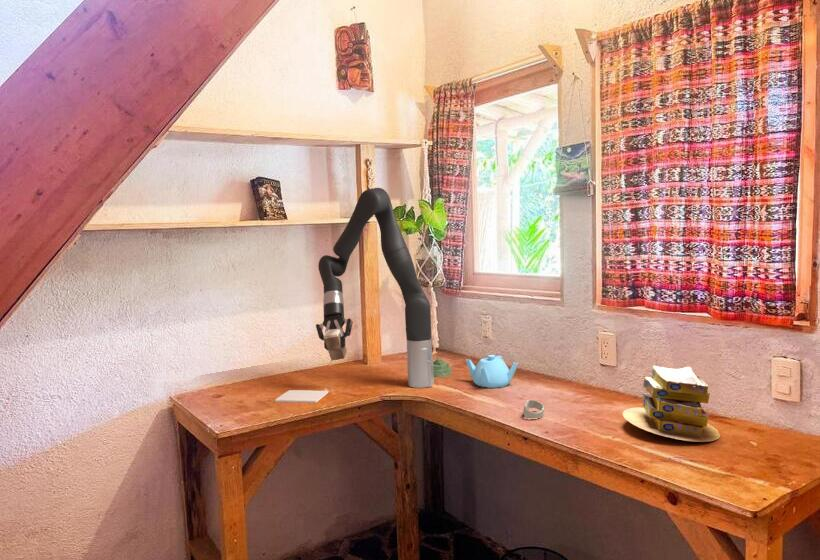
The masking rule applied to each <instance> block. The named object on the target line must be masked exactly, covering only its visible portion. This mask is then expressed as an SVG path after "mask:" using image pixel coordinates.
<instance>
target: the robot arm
mask: <svg viewBox="0 0 820 560" xmlns="http://www.w3.org/2000/svg"><path fill="white" fill-rule="evenodd" d="M355 204H356V205H355V207H354V209H353V212H352V214H351V216H350V218H349V221H348V223H347V224H346V226H345V228H344V229H343V231H342V233H341V234H340V235H339V237H338V239H337V241H336V243H334V246H333V248H332V250H333V252H334V254H335V255H336V256H337V257H335V256H331V255H328V254H325V255H322V256H321V257H320V259H319V260H318V264H317V265H318V271H319V275H320V278H321V281H322V284H323V299H322V300H323V302H322V303H323V304H322V305H323V306H322V307H323V321H322V323H316V324H315V328H316V332H317V336H318V338H319V339H320V340H321V341H324V342H323V344H324V346H323V347H324V349H325V350H326V351H328V349H327V345H326V342H325V339H324V335H325V333H326V331H329V330H331V329H339V330H340V335H341V337H340V345H341V348H344V346H346V338H347V337H350V336H351V332H352V328H353V323H354V322H353V320H352V319H351V318H345V301H344V295H343V294H344V291H343V282H342V280H341V279H340V278H339V277H341V276H343V275H344V274H345V273H346V270H347V267H348V264H349V262H350V261H349V260H350V257H351V255H352V253H353V252H354V250H355V249H356V247H357V246H358V244H359V243H360V239H361V237H362V234H363V230H364V228H365V227H366V224H368V222H369V221H370V219H372V217H373V216H374V217H375V220H376V221H377V224H378V227H379V231H380V232H379V233H380V247H381V251H382V255H383V259H385V263H386V265H387V267H388V269H389V271H390V274H391V275H392V276H393V278H394V279H395V281H396V283H397V284H398V287H399V289H400V291H401V294H402V297H403V300H404V304H405V306H404V317H405V318H404V319H405V321H404V322H405V334H406V335H405V336H406V360H407V385H408V387H410V388H417V389H418V388H419V389H423V388H431V387H432V386H433V385H434V383H435V377H434V367H433V361H434V358H433V350H432V349H433V347H432V345H433V344H432V318H431V315H432V312H431V310H432V309H431V307H432V306H431V302H430V300H429V299H428V297H427V295H426V293H425V292H424V290H423V287H422V286H421V284H420V282H419V279H418V276H417V272H416V268H415V265H414V262H413V259H412V255H411V253H410V251H409V250H410V249H409V248H408V245H407V244H406V242H405V239H404V236H403V233H402V231H401V229H400V226H399V223H398V221H397V218H396V215H395V211H394V209H393V203H392V201H391V198H390V195H389V194H388V192H387V190H385V189H384V188H381V187H373V188H372V187H371V188H369V189H366V190H364V191H363V192H361V194H360V196H359V198H358V199H357V202H356V203H355ZM344 325H345V331H344V329H343V327H344ZM324 327H325V330H324ZM323 330H324V331H323Z"/></svg>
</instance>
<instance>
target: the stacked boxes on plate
mask: <svg viewBox="0 0 820 560" xmlns="http://www.w3.org/2000/svg"><path fill="white" fill-rule="evenodd" d="M651 373H652V376H644V377H643V383H642V387H643V388H645V391H646V392H647V393H649V394H650V395H651V396H649V395H646V394H644V393H642V397H643V401H642V407H630V408H627V409H625V410H624V411H623V412H622V416H623V418H624V419H625V420H626V421H628V422H629V423H630V424H632V425H633V426H635V427H637V428H639V429H642V430H644V431H646V432H649V433H652V434H654V435H658V436H662V437H666V438H671V439H675V440H681V441H684V442H685V441H686V442H700V443H705V442H706V443H707V442H714V441H716V440H718V439H720V437H721V435H720V432H719V431H718V429H717V428H715V427H714V426H712V425H711V424H709V423H708V421H709V414H707V412H706V411H705V410H704V409H703V407H702V404H709V399H710V394H711V393H710V392H709V391H708V389H709V384H707V382H706V381H704V380H703V379H702V378H700V376H697V374H696V373H694V371H693V368H692V366H686V367H682V368H674V367H664V366H657V365H653V366H652V371H651Z"/></svg>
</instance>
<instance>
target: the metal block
mask: <svg viewBox="0 0 820 560" xmlns="http://www.w3.org/2000/svg"><path fill="white" fill-rule="evenodd" d="M323 335H324V339H325V342H326V345H327V349H328V354H329V358H330V360H331V361H332V362H333V361H338V360H339V361H340V360H344V359H345V358H346V356H347V354H348V350H347V346H346V345H345V346H344V348H341V345H340V337H341V335H340V330H339V329H331V330H329V331H326V333H325V332H324V334H323Z"/></svg>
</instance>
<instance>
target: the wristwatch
mask: <svg viewBox="0 0 820 560" xmlns="http://www.w3.org/2000/svg"><path fill="white" fill-rule="evenodd" d="M533 408H534V409H537V410H539V411H536V412H535V411H534V412H533V411H531V410H529V409H533ZM544 412H545V407H544V404H543V403H542V402H540V401H538V400H535V399H530V398H528V399H527V400H525V403H524V406H523V410H522V416H523V415H524V416H523V417H524V418H526V419H528V418H539V417H541V416H542V415H543V416H544ZM543 416H542V417H543ZM542 417H541V418H542Z"/></svg>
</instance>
